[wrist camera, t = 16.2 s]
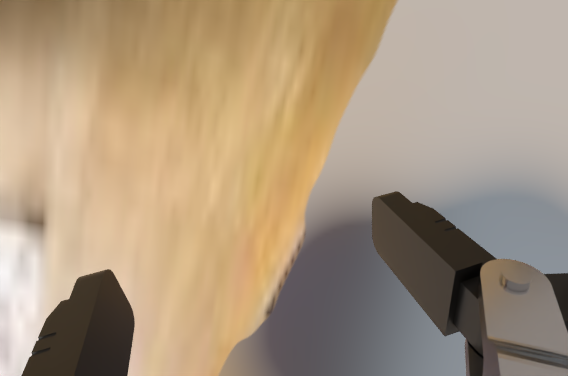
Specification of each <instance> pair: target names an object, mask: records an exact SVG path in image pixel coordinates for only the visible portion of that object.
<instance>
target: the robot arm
mask: <svg viewBox="0 0 568 376" xmlns="http://www.w3.org/2000/svg"><path fill="white" fill-rule="evenodd" d="M372 237H373V242H374V246H375V248H376V250H377V252H378V254H379V255H380V256H381V258H382V259H383V260H384V261H385V263H386V264H387V265H388V266H389V267H390V269H391V270H392V271H393V273H394V274H395V275H396V276H397V277H398V279H399V280H400V281H401V283H402V284H403V285H404V286H405V287H406V289H407V290H408V291H409V292H410V294H411V295H412V296H413V297H414V299H415V300H416V301H417V302H418V304H419V305H420V306H421V307H422V309H423V310H424V311H425V312H426V313H427V315H428V316H429V317H430V319H431V320H432V321H433V322H434V324H435V325H436V326H437V327H438V329H440V331H441V332H442V334H443V335H444V336H447V335H450V334H453V333H456V332H459V331H460V332H461V333H462V334H463V336H464V337H465V338H466V340H465V360H466V376H568V273H566V274H565V273H564V274H543V273H541V272H540V271H539V270H537V269H536V268H534V267H532V266H530V265H528V264H525V263H523V262H519V261H516V260H510V259H496V258H495V257H493V256H492V255H491V254H490V253H488V252H487V251H486V250H485V249H483V248H482V247H480V246H479V245H478V244H477V243H476V242H475V241H473V240H472V239H471V238H469V237H468V236H467V235H466V234H464V233H463V232H462V231H461V230H459V229H456V227H455V226H454V225H453V224H452V223H451V222H449V221H448V220H447V221H446V219H445V218H444V217H443V216H442V215H440V214H439V213H438V212H437V211H436V210H434V209H433V208H430V207H428V206H425V205H423V204H420V203H418V202H416V203H412V202H410V201H409V200H408V199H407V198H405V196H403V195H402V194H401V193H400V192H393V193H389V194H385V195H381V196H378V197H375V198H374V199H373V201H372ZM133 333H134V315H133V311H132V308H131V305H130V303H129V302H128V300H127V298H126V296H125V294H124V292H123V290H122V288H121V287H120V285H119V283H118V281H117V279H116V277H115V275H114V274H113V272H112V271H111V270H109V269H107V270H104V271H100V272H96V273H93V274H89V275H85V276H82V277H79V278H78V279H77V281H76V283H75V286H74V288H73V291H72V293H71V296H70V299H68V300H64V301H61V302H60V303H59V305H58V306H57V307H56V308H55V309H54V311H53V312H52V313H51V314H50V315H49V316H48V318H47V319H46V321H45V323H44V325H43V328H42V330H41V332H40V335H39V337H38V338H39V341H36V344H35V346H34V348H33V351H32V356H31V357H29V360H28V362H27V364H26V367H25V369H24V371H23V374H22V376H127V374H128V367H129V360H130V354H131V347H132V340H133Z"/></svg>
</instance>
